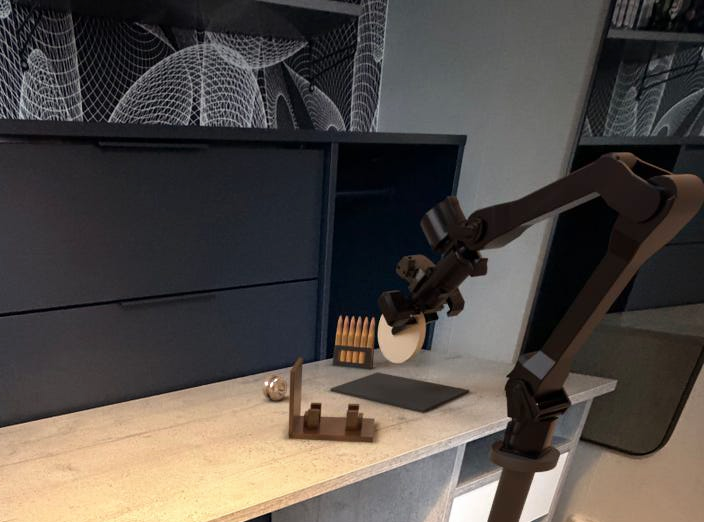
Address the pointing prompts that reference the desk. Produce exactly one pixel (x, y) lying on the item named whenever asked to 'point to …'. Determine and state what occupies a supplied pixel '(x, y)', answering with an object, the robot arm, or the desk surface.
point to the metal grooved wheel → (274, 388)
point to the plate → (401, 340)
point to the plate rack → (324, 426)
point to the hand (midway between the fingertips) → (396, 332)
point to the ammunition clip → (354, 344)
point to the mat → (400, 391)
